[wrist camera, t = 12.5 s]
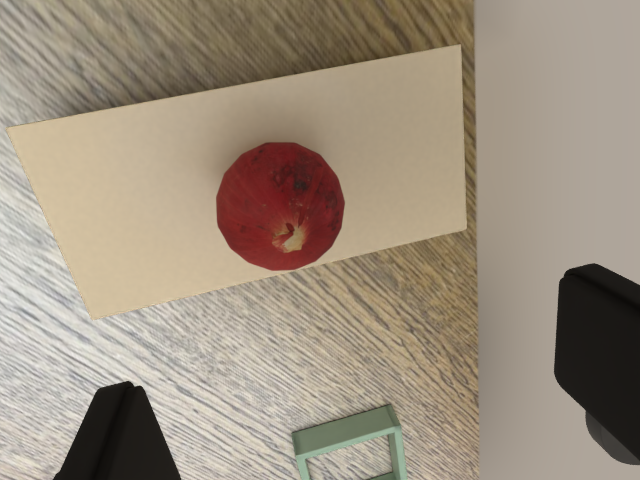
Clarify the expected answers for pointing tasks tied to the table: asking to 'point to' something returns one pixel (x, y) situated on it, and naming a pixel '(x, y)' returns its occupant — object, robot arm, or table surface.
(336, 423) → the green rectangular frame
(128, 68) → the table surface
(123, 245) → the beige rectangular box
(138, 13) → the table surface
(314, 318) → the table surface
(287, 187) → the red pomegranate
